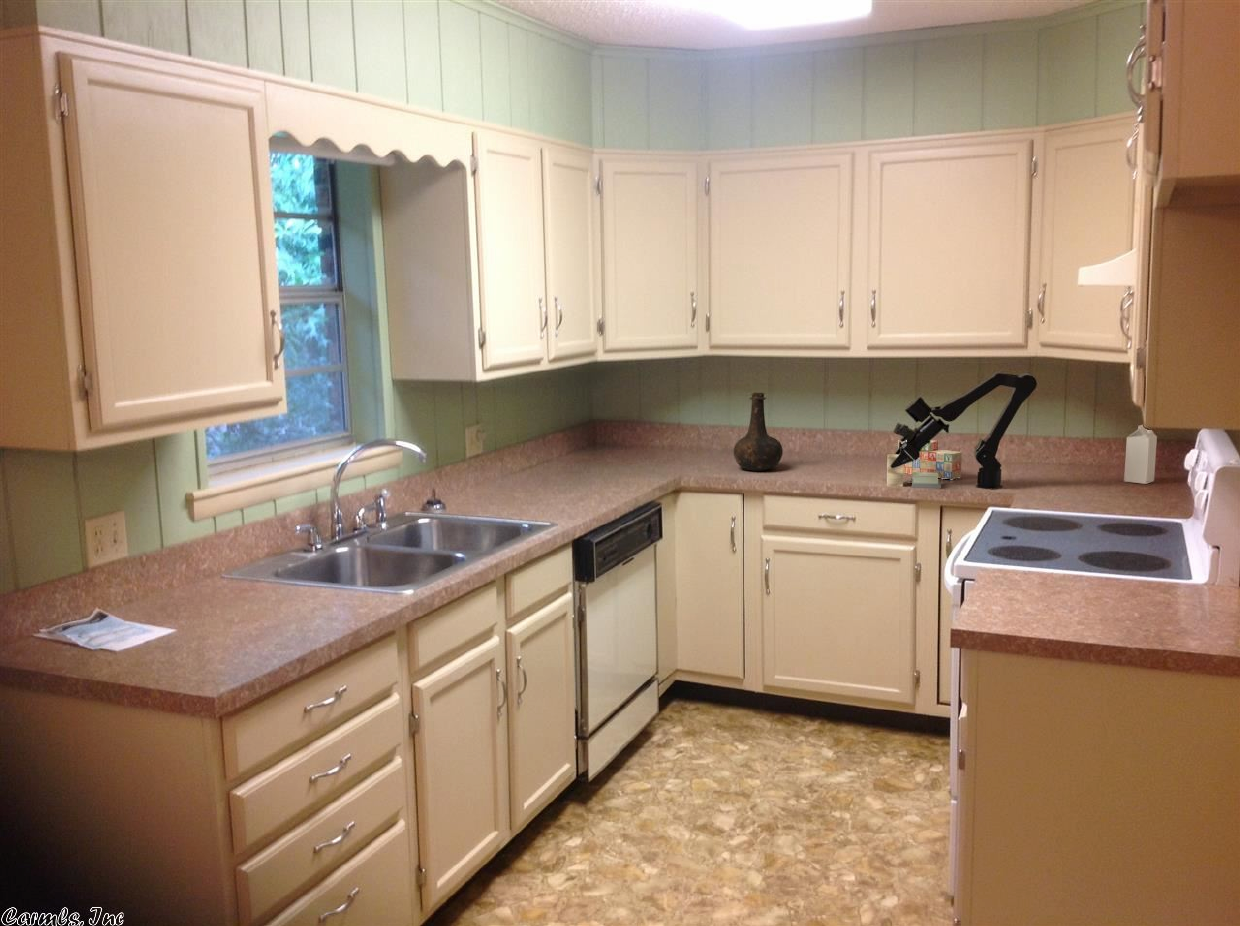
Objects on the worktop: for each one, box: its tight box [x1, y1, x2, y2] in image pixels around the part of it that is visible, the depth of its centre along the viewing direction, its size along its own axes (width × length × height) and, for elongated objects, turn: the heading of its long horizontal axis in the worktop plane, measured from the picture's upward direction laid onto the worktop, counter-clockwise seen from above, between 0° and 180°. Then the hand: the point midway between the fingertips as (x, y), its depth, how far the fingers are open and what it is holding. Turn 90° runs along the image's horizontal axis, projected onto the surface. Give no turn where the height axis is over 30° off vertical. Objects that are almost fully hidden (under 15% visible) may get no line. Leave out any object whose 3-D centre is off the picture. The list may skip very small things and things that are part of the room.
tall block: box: [886, 453, 904, 488], centre depth 358 cm, size 5×5×10 cm
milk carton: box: [1123, 424, 1158, 485], centre depth 356 cm, size 7×7×19 cm
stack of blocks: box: [897, 439, 963, 479], centre depth 373 cm, size 21×6×12 cm, turn 43°
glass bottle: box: [733, 392, 784, 472], centre depth 391 cm, size 18×18×28 cm
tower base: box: [910, 477, 942, 490], centre depth 357 cm, size 9×9×2 cm
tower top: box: [912, 472, 938, 484], centre depth 356 cm, size 8×8×2 cm
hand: (890, 464), depth 358 cm, fingers open, 9 cm apart
